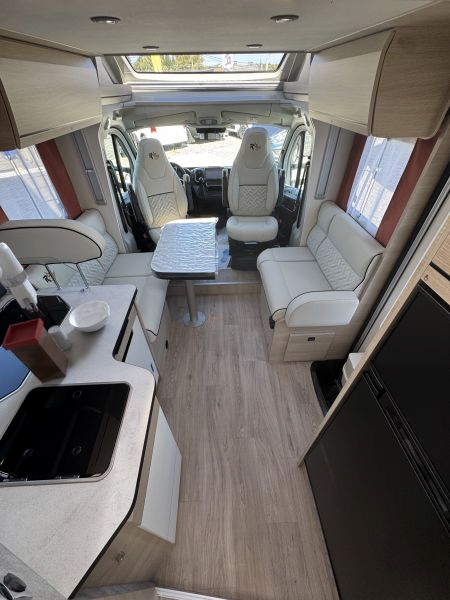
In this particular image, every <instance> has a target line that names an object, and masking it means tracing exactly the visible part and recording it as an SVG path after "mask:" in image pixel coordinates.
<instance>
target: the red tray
mask: <svg viewBox="0 0 450 600" xmlns="http://www.w3.org/2000/svg"><path fill="white" fill-rule="evenodd" d="M42 327H44V321H43V320H42V318H41V319H40V318H39V319H31V320H27V321H22V322H18V323H14V324H9V325H8V327H7V331H6V333H5V336H4V339H3V341H2V344H1V348H3V349H4V350H5V352H7V351H10V350H11V349H15V348H19V347H23V346H26V345H30V344H34V343H38V342H39V340H40V335H41V331H42Z"/></svg>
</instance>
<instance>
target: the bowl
mask: <svg viewBox="0 0 450 600" xmlns="http://www.w3.org/2000/svg"><path fill="white" fill-rule="evenodd" d="M110 316H111V310H110V306H109V304H108V303H107V302H106V301H101V300H91V301H88V302H84V303H82V304H80V305H79V306H77V307H76V308H74V310H72V312H70V315H69V318H68V321H69V324H70V325H71V326H72V327H73V328H74V329H75V330H78V331H80V332H85V333H90V332H91V333H92V332H95V331H98V330H100V329H103V327H104V326H105V325H106V324H107V323H108V322H109V319H110Z"/></svg>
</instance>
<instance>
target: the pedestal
mask: <svg viewBox="0 0 450 600" xmlns="http://www.w3.org/2000/svg"><path fill="white" fill-rule="evenodd" d="M9 351H10V353H12V354H13V355H14V356H15V358H16V359H18V360H19V361H20V362H21V364H23V365H24V366H25V367H26V368H27V369H28V370H29V372H30V373H32V374H33V375H34V377H35V378H36V379H38V380H39V382H40V383H41V384H45V383H48V382H51V381H56V380H59V379H61V378H65V377H67V372H68V364H69V358H68V357H67V355H66V354H65V353H64V352H63V350H61V349H60V348H59V346H58V345H57V344H56V342H55V341H54V340H53V339H52V337H51V336H50V335H49V333H48V331H47V329H46V328H45V327H44V326H43V327H42V331H41V335H40V340H39V342H38V343H34V344H30V345H26V346H23V347H19V348H15V349H11V350H9Z"/></svg>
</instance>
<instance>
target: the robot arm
mask: <svg viewBox="0 0 450 600" xmlns="http://www.w3.org/2000/svg"><path fill="white" fill-rule="evenodd" d="M0 281H1V282H2V283H3V285H4V286H5V287H8V289H9V290H10V292H11V294H12V295H13V297H14V298H15V300H16V301H17V303H18V304H19V306H20V308H22V309H26V310H27V312H28V313H29V314H30V316H31V317H32V319H33V320H35V319H39V318H40V319H41V320H42V319H43V318H45V314H43V312H42V310H41V309H40V308H38V305H41V304H43V301H42V300H41V298H40V297H39V295H38V294H37V292H36V289H35V287H34V286H33V285H32V283H31V282H30V281H29V275H28V273H27V271H26V270H25V268H24V267H23V266H22V265H21V263H20V261H19V260H18V259H17V257H16V255H15V254H14V253H13V251H12V250H11V248H10V247H9V246H8V245H7V244H6V243H4V242H0Z"/></svg>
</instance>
